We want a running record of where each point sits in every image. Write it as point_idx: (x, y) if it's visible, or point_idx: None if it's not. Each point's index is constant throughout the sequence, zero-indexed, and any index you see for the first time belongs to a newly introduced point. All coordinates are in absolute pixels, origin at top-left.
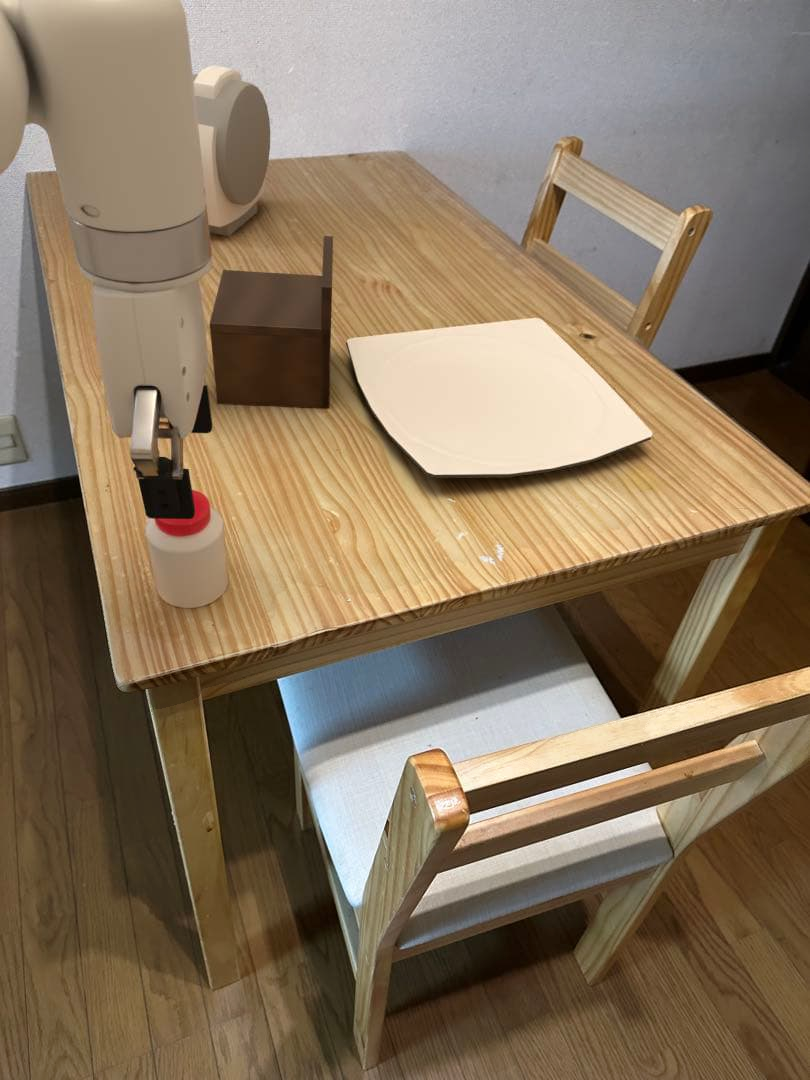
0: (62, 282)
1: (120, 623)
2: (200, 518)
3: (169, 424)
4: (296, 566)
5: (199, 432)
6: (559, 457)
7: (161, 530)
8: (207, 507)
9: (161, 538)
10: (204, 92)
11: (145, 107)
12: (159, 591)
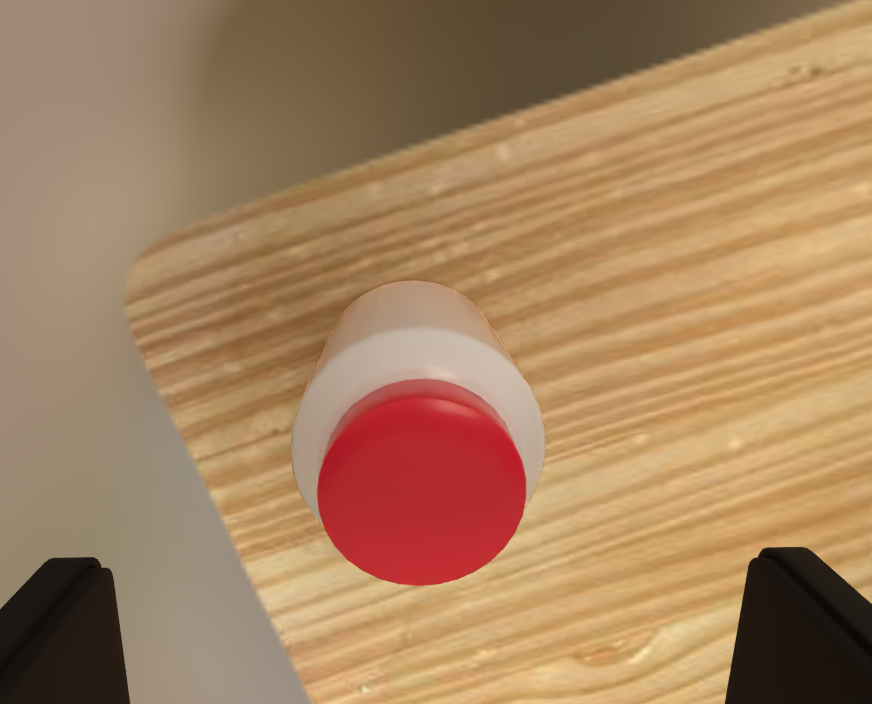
0: None
1: (265, 212)
2: (360, 565)
3: (789, 572)
4: (466, 587)
5: (732, 676)
6: None
7: (346, 412)
8: (420, 580)
9: (324, 408)
10: None
11: None
12: (355, 303)
